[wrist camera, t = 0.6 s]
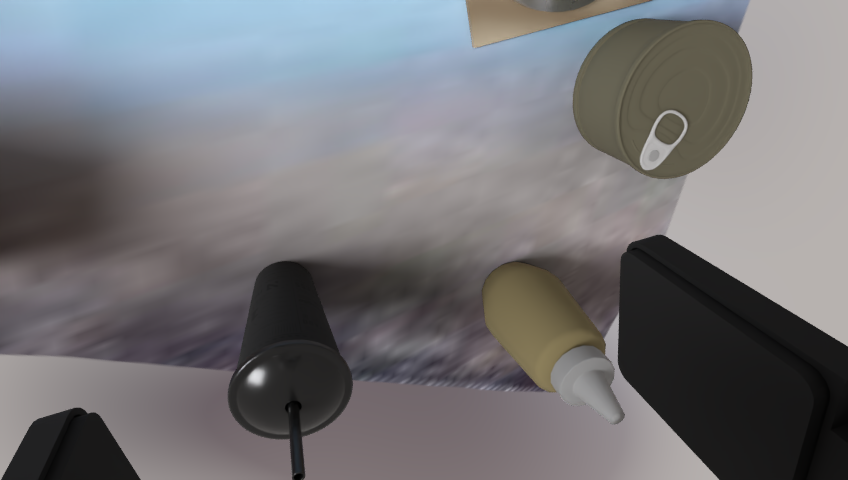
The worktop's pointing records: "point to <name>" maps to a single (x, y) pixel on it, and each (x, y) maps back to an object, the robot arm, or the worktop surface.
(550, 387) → the squeeze bottle
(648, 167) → the can
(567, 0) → the lid
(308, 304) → the drinking cup
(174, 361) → the worktop surface
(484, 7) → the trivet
